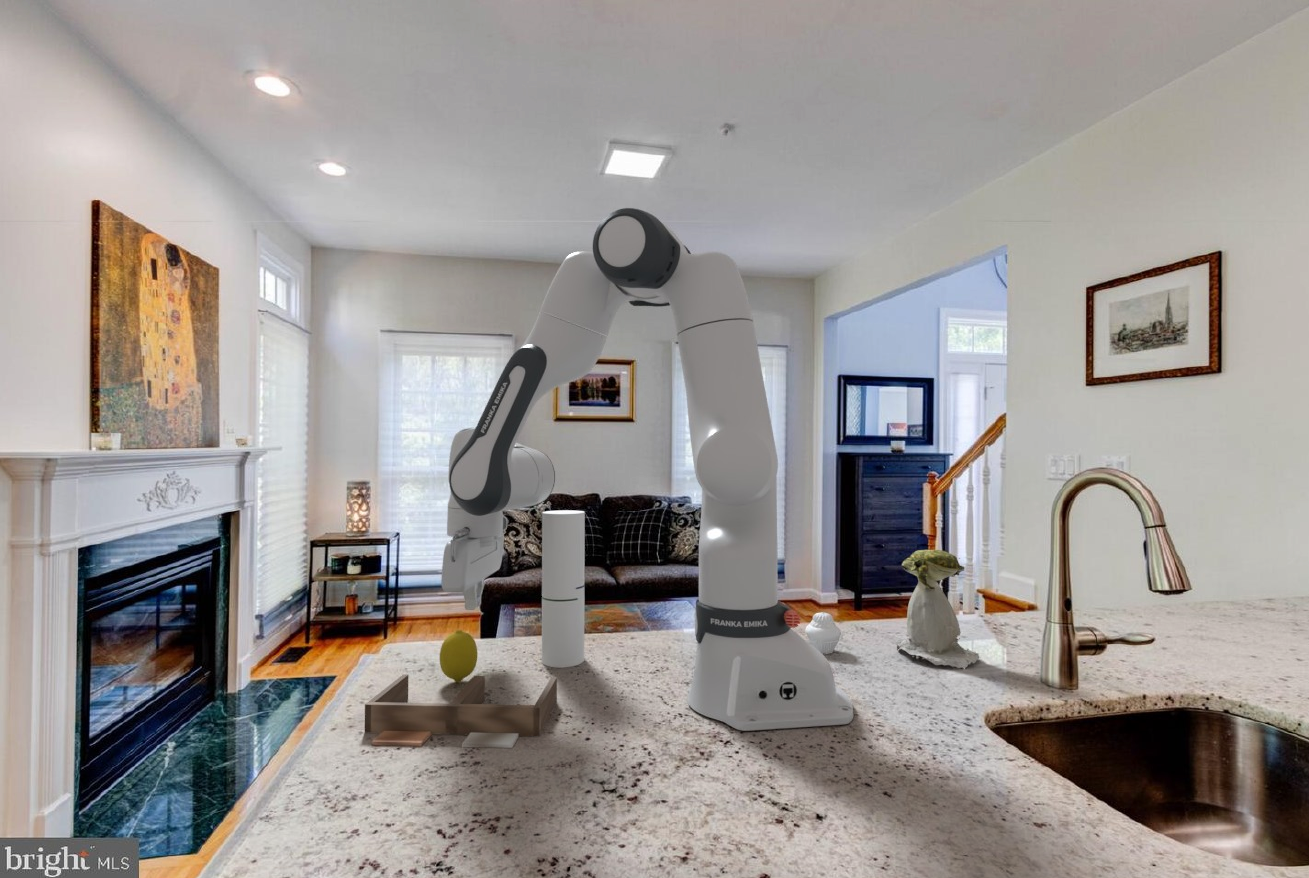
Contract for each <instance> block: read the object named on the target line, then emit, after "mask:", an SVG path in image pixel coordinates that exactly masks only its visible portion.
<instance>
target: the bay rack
mask: <svg viewBox="0 0 1309 878" xmlns="http://www.w3.org/2000/svg"><path fill="white" fill-rule="evenodd" d="M485 680H486V677H485V675H473V677H471V679H469V681H467V683H466V684H465V685H464V686H463V687H462V688H461V689H460V690H459V691H458V692H457V694H456V695H455V696H453V698H452V699H451V700H450V701H449V702H448V703H443V702H441V703H439V702H438V703H436V702H407V701H408V700H409V674H401V675H400V676H399V677H398V678H396V679H395V680H394V681H393V682H392V683H390V684H389V685H388V686H386V687H385V688H384V689H383V690H381V691H380V692H379V693H378V694H376V695H375V696H374V697H372V698H371V699H370V700H369V701H367V702H366V703H365V704H364V734H365V733H366V734H378V735H377V736H376V737H375V738H374V739H373V740H372V741H371V745H372V746H401V747H402V746H406V747H407V746H410V747H413V746H415V747H422V745H423V744H424V743H425V742H426V741H427V740H428V739H429V737H430V736H432V735H448V736H449V735H453V736H455V735H456V736H457V735H460V736H462V735H463V736H464V735H465V736H467V737H466V738H465V739H464V741H463V742H462V743H461V745H462V747H463V748H493V749H494V748H497V749H498V748H500V749H501V748H504V749H508V748H509V749H512V748H513V747H514V746H515V744H516V742H517V740H518V739H519V737H540V736H541V734H542V732H543V731H544V728H545V726H547V725H546V724H547V723H548V721H549V719H550V717H551V714H552V712H553V710H554V708H555V707H556V705H557V703H558V692H557V691H558V677H557V676H551V677H550V679H549V680H548V682H547V683H546V685H545V687H544V688H543V690H542V692H541V694H540V696H539V697H538V699H537V701H536V702H535V704H532V705H531V704H501V703H500V704H495V703H494V704H493V703H491V704H485V703H484V702H485V699H486V698H485V697H486V696H485V694H486V693H485V691H486V690H485V689H486V688H485V687H486V686H485V685H486V683H485V682H486V681H485Z"/></svg>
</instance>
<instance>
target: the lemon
mask: <svg viewBox="0 0 1309 878" xmlns="http://www.w3.org/2000/svg"><path fill="white" fill-rule="evenodd" d="M477 661H478V647H477V644H476V640H475V639H474V637H473V636H472V635H471V634H469V633H468V632H465V631H463V630H461V629H456V630H455V632H453V633H449V635H448V636H447V637H446V638H445V639H444V640H443V642H442V645H441V648H440V652H439V665H440V669H441V671H442V673H443V674H444V675H445V676H446V677H447V678H449V679H452V680H453V681H454V682H456V683H461V682H462V681H463V679H465V678H467V677H468V676H470V675H471V674H472V673H473V671H474V670H475V668H476V666H477Z"/></svg>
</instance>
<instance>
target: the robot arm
mask: <svg viewBox="0 0 1309 878" xmlns="http://www.w3.org/2000/svg"><path fill="white" fill-rule="evenodd" d="M626 303H629V304H630V305H632V306H633V307H657V308H659V307H669V306H670V307H671V311H672V314H673V318H674V325H675V331H676V338H677V344H678V349H679V350H678V351H679V356H680V362H681V369H682V373H683V379H684V387H685V392H686V393H685V396H686V405H687V417H688V428H689V436H690V437H689V438H690V444H691V445H690V447H691V452H692V453H691V454H692V459H693V468H694V473H695V478H696V480H697V482H698V485H699V486H700V488H701V489H702V490H701V507H700V508H701V510H700V524H699V525H700V526H699V538H698V539H699V540H698V598H697V599H696V601H695V607H694V636H695V640H696V654H695V660H694V661H695V663H694V667H693V668H694V669H693V675H692V678H691V679H692V680H691V684H690V687H689V692H688V694H687V697H686V700H687V701H686V702H687V704H688V706H689V707H690V708H691V709H692V710H694V711H695V712H697V713H698V714H701V715H702V716H705V717H707V718H709V719H710V718H711V719H714V720H717V721H720V722H722V723H724V724H727V726H730V727H732V728H734V729H736V730H738V731H744V732H745V731H746V732H747V731H762V730H763V731H764V730H776V729H777V730H779V729H793V728H794V729H795V728H808V727H811V728H812V727H822V726H824V727H825V726H840V725H847V724H850V723H851V722H852V720H853V719H854V706H853V703H852V700H851V699H850V697H849V695H848V694H847V693H846V692H845V691H844V690H843V689H842V688H841V687H839V686H837V685H836V682H835V677H834V673H833V670H832V667H831V664H830V663H829V661H828V659H827V657H826V656H825V654H822V653H821V652H820V651H819V650H817V649H816V648H815V647H814V646H812V645H811V644H810V642H809V641H808V640H806V639H805V638H804V637H803V636H801V635H800V634H799V633H797V631H795V630H793V629H795V628H797V627H799V625H801V621H802V620H801V616H800V615H799V614H798V612H797V611H796V610H795V609H792V607H790V606H789V605H787V604H786V603H785V602H781V601H780V600H778V599H779V597H778V595H779V594H778V593H779V591H778V582H779V581H778V580H779V579H778V569H779V567H778V563H779V562H778V559H779V558H778V549H779V548H778V508H777V507H778V500H777V499H778V498H777V497H778V496H777V495H778V493H777V492H778V491H777V481H778V479H777V475H778V469H779V461H778V454H777V453H778V452H777V448H776V442H775V437H774V431H773V426H772V420H771V416H770V410H769V404H768V399H767V392H766V389H765V388H766V387H765V381H764V377H763V370H762V366H761V359H760V354H759V353H760V352H759V346H758V341H757V335H756V329H755V324H754V319H753V312H752V307H751V304H750V301H749V296H748V293H747V290H746V287H745V283H744V280H743V278H742V275H741V273H740V270H739V267H738V265H737V263H736V262H735V260H734V259H733V258H732V257H731V256H729V255H727V254H725V253H722V252H719V251H710V250H709V251H702V252H697V253H691V251H690V250H689V249H688V247H687V246H686V245H685V244H683V242H682V241H681V240H680V239H679V237H678V236H677V234H676V233H675V232H674V231H673V230H672V229H671V228H669V227H668V226H667V225H665V224H664V223H663V222H661V220H659V218H657V217H656V216H655V215H653V214H652V213H650V212H647V211H644V210H642V209H639V208H634V207H633V208H632V207H624V208H619V209H617V210H615V211H612V212H611V213H609V214H607V215H606V216H605V217H604V218H603V219H602V220H601V221H600V223H599V224H598V226H597V228H596V231H595V233H594V234H593V239H592V251H586V250H585V251H576V252H573V253H571V254H568V255H567V256H566V257H565V258H564V259H563V262H562V263H561V265H560V266H559V268H558V269H557V271H556V274H555V275H554V277H553V278H552V281H551V284H550V285H549V288H548V289H547V292H546V294H545V297H544V299H543V302H542V304H541V307H540V308H539V309H540V310H539V313H538V315H537V318H536V320H535V322H534V325H533V327H532V328H531V331H530V333H529V334H528V336H527V338H526V339H525V340H524V342H523V344H522V345H521V347H519V348H518V349H517V350H516V351H515V352H514V353H513V354H512V355H511V357H510V358H509V360H508V361H507V362H506V365H505V367H504V368H503V370H502V372H501V374H500V376H499V378H498V380H497V382H496V384H495V386H494V389H493V390H492V392H491V395H490V397H489V399H488V402H487V403H486V404H485V407H484V409H483V412H482V413H481V416H480V418H479V420H478V421H477V424H476V426H474V427H473V426H472V427H467V428H464V429H461V430H459V431H458V432H457V433H455V435H454V436H453V440H452V443H451V446H450V452H449V459H448V462H449V463H448V484H449V489H450V496H449V500H448V502H447V521H446V522H447V523H446V530H447V531H446V535H447V536H448V537H452V539H450V541H448V542H447V543H446V544H445V546H444V551H443V557H442V565H441V577H440V579H441V580H440V581H441V588H442V590H443V592H445V593H462V595H463V598H464V609H465V610H467V611H474V610H476V609H477V608H478V607H480V606H481V605H482V595H483V590H484V587H485V580H486V578H488V577H489V576H491V575H493V574H494V573H496V572H497V571H499V570H500V568H501V565H502V560H503V554H504V542H505V533H504V531H506V530H507V528H508V517H506V516H505V515H504V513H503V511H508V510H516V509H520V508H521V509H522V508H526V507H532V506H536V505H539V504H541V503H543V502H545V501H546V500H547V499H548V498H549V497H550V495H551V493H553V489H554V487H555V482H556V471H555V468H554V464H553V462H552V461H551V459H550V457H549V456H548V455H547V454H546V453H544V452H543V451H541V450H539V449H536V448H535V449H534V448H532V447H529V446H526V445H524V444H522V443H519V442H518V439H519V437H520V436H521V433H522V431H523V428H524V427H525V425H526V422H527V420H528V418H529V417H530V415H531V412H532V410H533V408H534V407H535V405H536V403H538V401H539V400H541V398H542V397H544V396H545V395H546V394H547V393H550V392H551V391H553V390H554V389H557V388H559V387H561V386H563V385H566V384H568V383H571V382H575V381H577V380H580V379H582V378H583V377H585V376H587V375H588V374H589V373H590V372H591V371H592V369H593V368H594V367H595V365H596V363H597V362H598V361H599V358H600V357H601V354H602V352H603V349H604V348H605V344H606V341H607V339H608V335H609V333H610V330H611V327H612V324H613V321H614V319H615V316H616V314H617V312H618V311H619V309H620V308H621V307H622V306H623V305H624V304H626ZM792 628H793V629H792Z"/></svg>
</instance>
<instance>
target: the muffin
mask: <svg viewBox="0 0 1309 878" xmlns="http://www.w3.org/2000/svg"><path fill="white" fill-rule="evenodd" d="M804 633H805V635H806V638H807V641H808V642H809V643H810V644H811V645H812V646H814V647H815V648H816V649H817V650H819V651H820V652H821V653H831V652H832V653H834V650H835V649H836V648H837V645H838V643H839V641H840V637H842V631H841V629H840V628H839V626H838V625H837V624H836V622H835V621H834V617H833V616H832V615H831V614H830V613H828V612H824V611H822V612H816V613H815V614H814V615H812V620H811V621H810V623H809V624H808V625H806V627H805V629H804ZM832 653H831V654H832Z"/></svg>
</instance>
